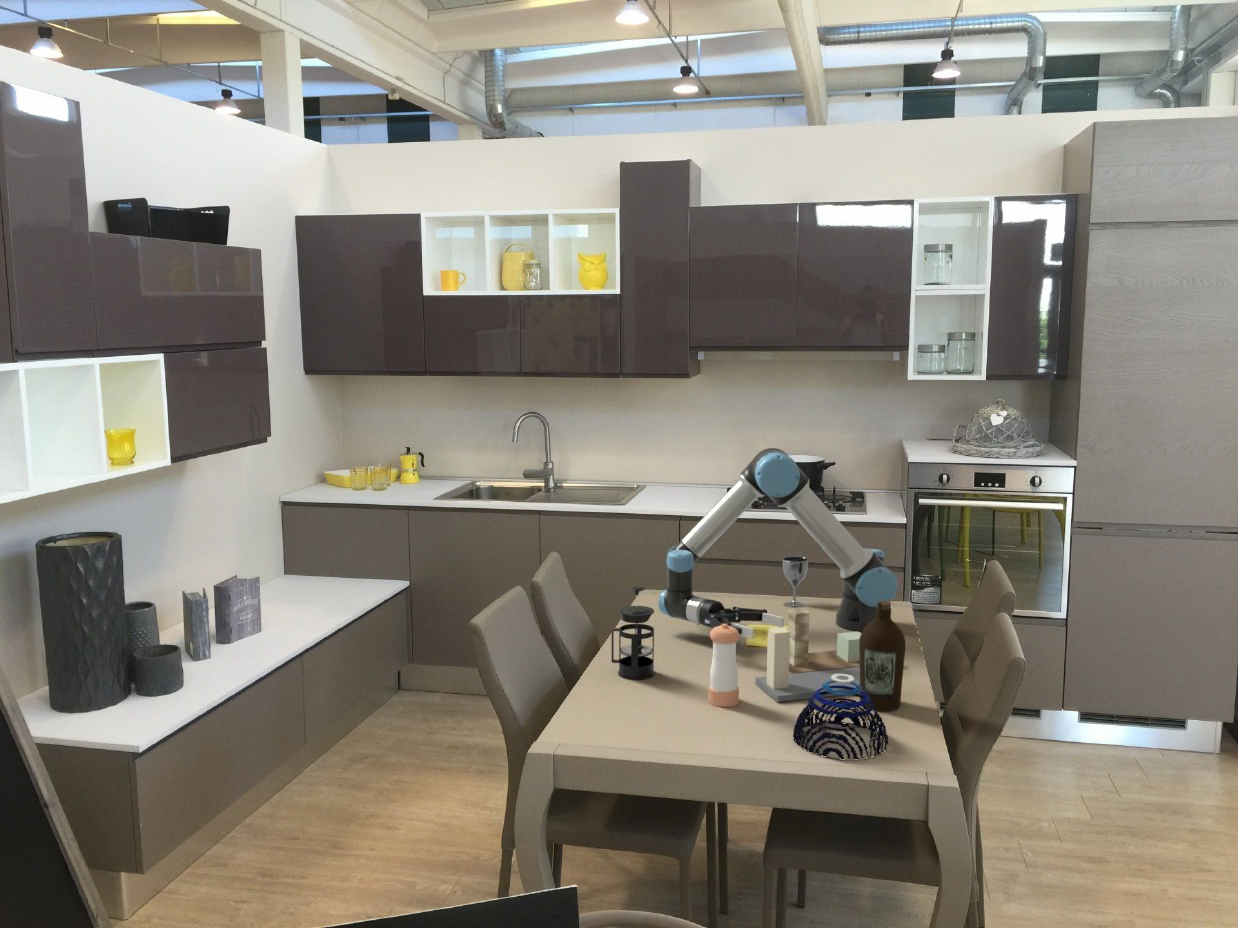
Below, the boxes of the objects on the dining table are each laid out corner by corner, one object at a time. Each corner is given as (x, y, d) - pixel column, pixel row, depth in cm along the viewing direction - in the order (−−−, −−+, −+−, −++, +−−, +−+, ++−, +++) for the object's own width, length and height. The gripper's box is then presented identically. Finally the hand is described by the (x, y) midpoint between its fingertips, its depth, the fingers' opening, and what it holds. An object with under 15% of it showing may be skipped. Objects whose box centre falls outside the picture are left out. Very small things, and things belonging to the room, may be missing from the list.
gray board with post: (862, 671, 261) (864, 614, 259) (888, 689, 249) (891, 628, 247) (755, 683, 253) (756, 623, 251) (777, 701, 241) (779, 639, 238)
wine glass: (805, 601, 327) (807, 556, 325) (807, 608, 319) (809, 562, 317) (780, 600, 328) (782, 555, 326) (782, 607, 320) (783, 561, 318)
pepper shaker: (702, 698, 244) (704, 621, 241) (729, 693, 246) (730, 618, 244) (717, 708, 237) (718, 630, 234) (744, 704, 240) (746, 626, 237)
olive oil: (860, 693, 247) (863, 594, 243) (904, 699, 243) (909, 598, 239) (854, 709, 237) (857, 606, 233) (900, 715, 233) (905, 610, 230)
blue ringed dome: (803, 717, 233) (804, 657, 231) (892, 730, 225) (895, 668, 223) (784, 751, 214) (786, 686, 212) (880, 766, 207) (883, 699, 205)
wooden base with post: (876, 651, 277) (878, 596, 275) (902, 666, 265) (904, 609, 263) (776, 661, 269) (777, 605, 267) (798, 677, 257) (799, 619, 255)
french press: (658, 668, 264) (659, 583, 261) (655, 680, 255) (656, 592, 252) (614, 666, 266) (614, 581, 262) (609, 678, 256) (609, 591, 253)
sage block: (856, 652, 272) (857, 631, 271) (868, 659, 266) (869, 638, 265) (836, 654, 270) (837, 633, 269) (847, 662, 264) (848, 640, 263)
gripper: (732, 615, 293) (794, 631, 279) (677, 634, 275) (739, 652, 261) (733, 590, 292) (795, 604, 278) (677, 608, 274) (740, 624, 260)
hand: (768, 628), depth 269 cm, fingers open, 13 cm apart
